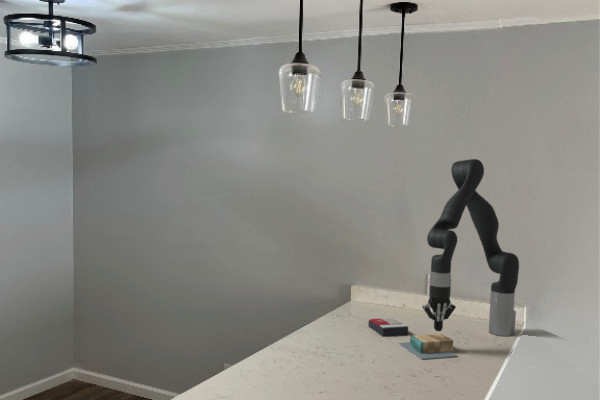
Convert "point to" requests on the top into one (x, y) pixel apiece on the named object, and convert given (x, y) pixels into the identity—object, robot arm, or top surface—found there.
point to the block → (431, 343)
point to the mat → (428, 355)
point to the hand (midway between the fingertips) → (438, 330)
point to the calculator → (388, 327)
